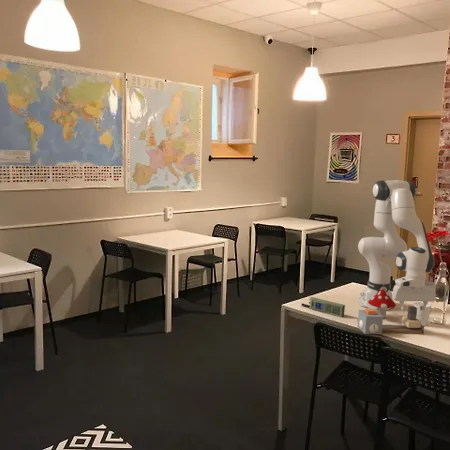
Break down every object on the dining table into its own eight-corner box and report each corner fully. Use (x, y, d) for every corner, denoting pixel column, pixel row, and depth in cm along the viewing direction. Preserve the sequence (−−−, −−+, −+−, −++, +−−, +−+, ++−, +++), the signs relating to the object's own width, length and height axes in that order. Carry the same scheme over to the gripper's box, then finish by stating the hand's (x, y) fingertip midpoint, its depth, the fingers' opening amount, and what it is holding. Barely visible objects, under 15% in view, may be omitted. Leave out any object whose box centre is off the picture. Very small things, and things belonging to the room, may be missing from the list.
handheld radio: (341, 318, 250) (299, 307, 266) (344, 317, 253) (303, 306, 269) (342, 305, 249) (300, 295, 266) (345, 304, 252) (304, 294, 268)
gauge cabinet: (356, 326, 237) (358, 309, 236) (373, 326, 238) (374, 309, 237) (364, 334, 227) (366, 316, 226) (381, 334, 228) (383, 316, 227)
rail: (374, 327, 237) (374, 320, 237) (415, 327, 239) (416, 320, 239) (380, 333, 229) (381, 326, 229) (423, 333, 231) (424, 326, 231)
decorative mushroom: (395, 323, 244) (398, 294, 242) (366, 320, 248) (369, 291, 246) (393, 315, 258) (396, 287, 256) (366, 312, 261) (369, 284, 259)
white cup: (420, 327, 240) (422, 307, 239) (408, 322, 247) (410, 302, 246) (432, 325, 243) (434, 306, 242) (420, 320, 251) (422, 301, 249)
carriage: (401, 322, 238) (403, 304, 236) (413, 322, 238) (415, 304, 237) (408, 327, 231) (410, 309, 229) (420, 327, 231) (422, 309, 230)
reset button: (364, 314, 234) (365, 308, 233) (372, 314, 234) (373, 308, 234) (367, 317, 230) (368, 310, 229) (376, 317, 230) (376, 311, 230)
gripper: (432, 280, 235) (430, 308, 237) (392, 279, 233) (389, 307, 235) (439, 283, 229) (437, 312, 231) (397, 282, 227) (395, 311, 229)
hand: (412, 310), depth 233 cm, fingers open, 8 cm apart
